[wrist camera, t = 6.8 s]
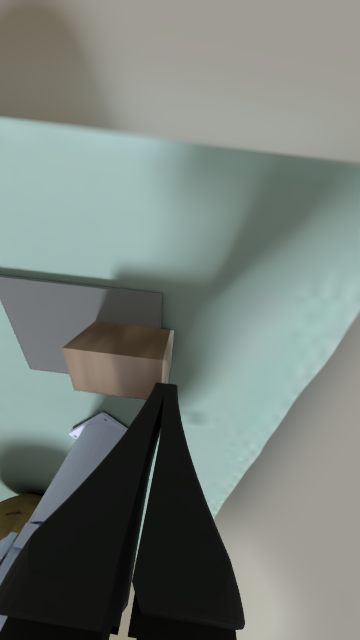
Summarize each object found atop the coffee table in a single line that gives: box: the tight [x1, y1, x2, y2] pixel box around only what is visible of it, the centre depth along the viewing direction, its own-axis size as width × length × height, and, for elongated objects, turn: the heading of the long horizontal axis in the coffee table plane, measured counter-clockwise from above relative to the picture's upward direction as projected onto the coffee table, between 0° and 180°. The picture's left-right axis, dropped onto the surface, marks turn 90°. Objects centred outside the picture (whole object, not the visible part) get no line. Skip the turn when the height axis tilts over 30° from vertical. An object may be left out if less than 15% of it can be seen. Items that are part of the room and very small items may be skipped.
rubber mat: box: [0, 275, 163, 374], centre depth 15 cm, size 14×10×1 cm
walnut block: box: [62, 321, 174, 400], centre depth 13 cm, size 4×4×7 cm
